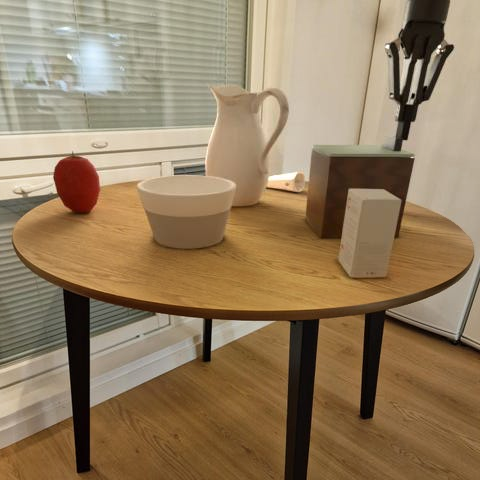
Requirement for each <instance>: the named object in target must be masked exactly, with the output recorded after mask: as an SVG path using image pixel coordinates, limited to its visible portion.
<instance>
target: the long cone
mask: <svg viewBox="0 0 480 480" xmlns="http://www.w3.org/2000/svg"><path fill="white" fill-rule="evenodd" d="M305 185H306V176H305V174H304V173H303V172H302V171H297V172H290V173H283V174H277V175H276V174H275V175H269V180H268V184H267V186H266V188H270V189H274V190H281V191H287V192H294V193H301V192H302V191H303V190H304V188H305Z"/></svg>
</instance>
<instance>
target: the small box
mask: <svg viewBox="0 0 480 480" xmlns="http://www.w3.org/2000/svg"><path fill="white" fill-rule="evenodd" d="M401 202H402V200H401V199H399V198H397V197H396V196H394V195H392V194H391V193H389V192H387V191H386V190H384V189H349V191H348V197H347V204H346V211H345V218H344V224H343V232H342V238H340V245H339V252H338V258H337V259H338V260H337V261H338V262H339V264H340V265H341V266H342V268H343V269H344V271H345V272H346V273H347V275H348V276H349V277H350V278H352V279H353V278H358V279H359V278H363V279H364V278H365V279H366V278H367V279H370V278H371V279H373V278H387V275H388V271H389V266H390V261H391V255H392V250H393V246H394V242H395V237H394V236H395V231H396V226H397V221H398V216H399V211H400V207H401Z"/></svg>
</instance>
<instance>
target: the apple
mask: <svg viewBox="0 0 480 480" xmlns="http://www.w3.org/2000/svg"><path fill="white" fill-rule="evenodd" d="M71 153H72V155H69V156H66V157H64V158H62V159H60V160H59V161H58V162H57V163H56V165H55V167H54V170H53V176H52V179H53V182H54V187H55V190H56V194H57V196H58V197H59V199H60V200H61V203H62V204H63V205H64V207H66V208H67V209H69V210H70V211H72V213H78V214H87V213H90V212H92V210H93V209H94V208H95V206H96V205H97V203H98V199H99V196H100V193H101V186H100V185H101V184H100V176H99V174H98V172H97V170H96V168H95V166H94V164H93V163H92V162H91V160H89V159H88V158H87V157H83V156H80V155H74V151H73V150H72V151H71Z"/></svg>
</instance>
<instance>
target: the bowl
mask: <svg viewBox="0 0 480 480" xmlns="http://www.w3.org/2000/svg"><path fill="white" fill-rule="evenodd" d="M136 189H137V192H138V195H139V198H140V201H141V205H142V207H143V208H144V213H145V215H146V217H147V221H148V224H149V227H150V229H151V230H150V231H151V232H152V235H153V239H154V240H155V242H156V243H157V244H159V245H162V246H164V247H168V248H173V249H183V250H184V249H185V250H187V249H188V250H189V249H191V250H192V249H193V250H194V249H202V248H208V247H212V246H214V245H215V246H216V245H217V244H219V243H220V242H222V241H223V239H224V237H225V236H224V235H225V232H226V228H227V224H228V220H229V216H230V213H231V208H232V206H231V205H232V201H233V197H234V193H235V189H236V184H235V183H234V182H232V181H230V180H227V179H223V178H219V177H212V176H206V175H199V174H175V175H162V176H156V177H151V178H147V179H144V180H142V181H139V182H138V183H137V184H136Z"/></svg>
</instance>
